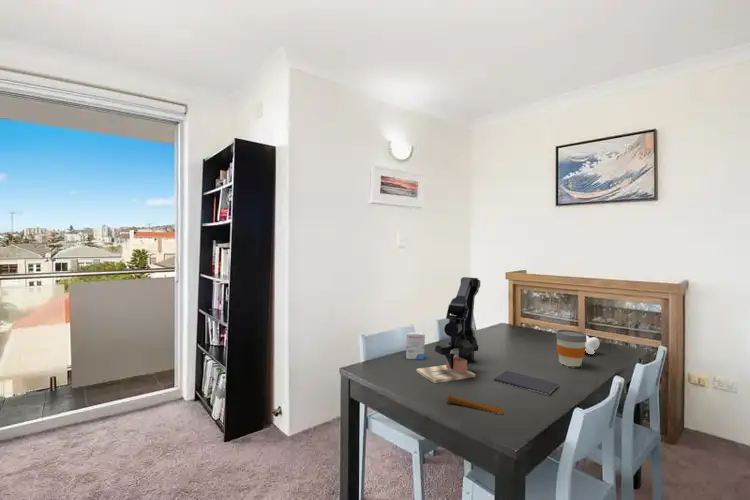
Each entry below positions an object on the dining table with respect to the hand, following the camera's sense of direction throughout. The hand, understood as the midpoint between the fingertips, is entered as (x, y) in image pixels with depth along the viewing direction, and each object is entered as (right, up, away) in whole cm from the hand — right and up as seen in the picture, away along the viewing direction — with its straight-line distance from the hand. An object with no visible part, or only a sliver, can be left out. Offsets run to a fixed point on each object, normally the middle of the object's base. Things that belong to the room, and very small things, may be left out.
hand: (456, 367), depth 160 cm
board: (-5, -2, -2) cm, 6 cm away
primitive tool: (0, -4, -32) cm, 33 cm away
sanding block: (0, -1, 0) cm, 1 cm away
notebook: (+26, -4, -10) cm, 28 cm away
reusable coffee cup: (+56, -3, +14) cm, 57 cm away
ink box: (-16, -2, +19) cm, 25 cm away
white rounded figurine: (+75, -3, +33) cm, 82 cm away
